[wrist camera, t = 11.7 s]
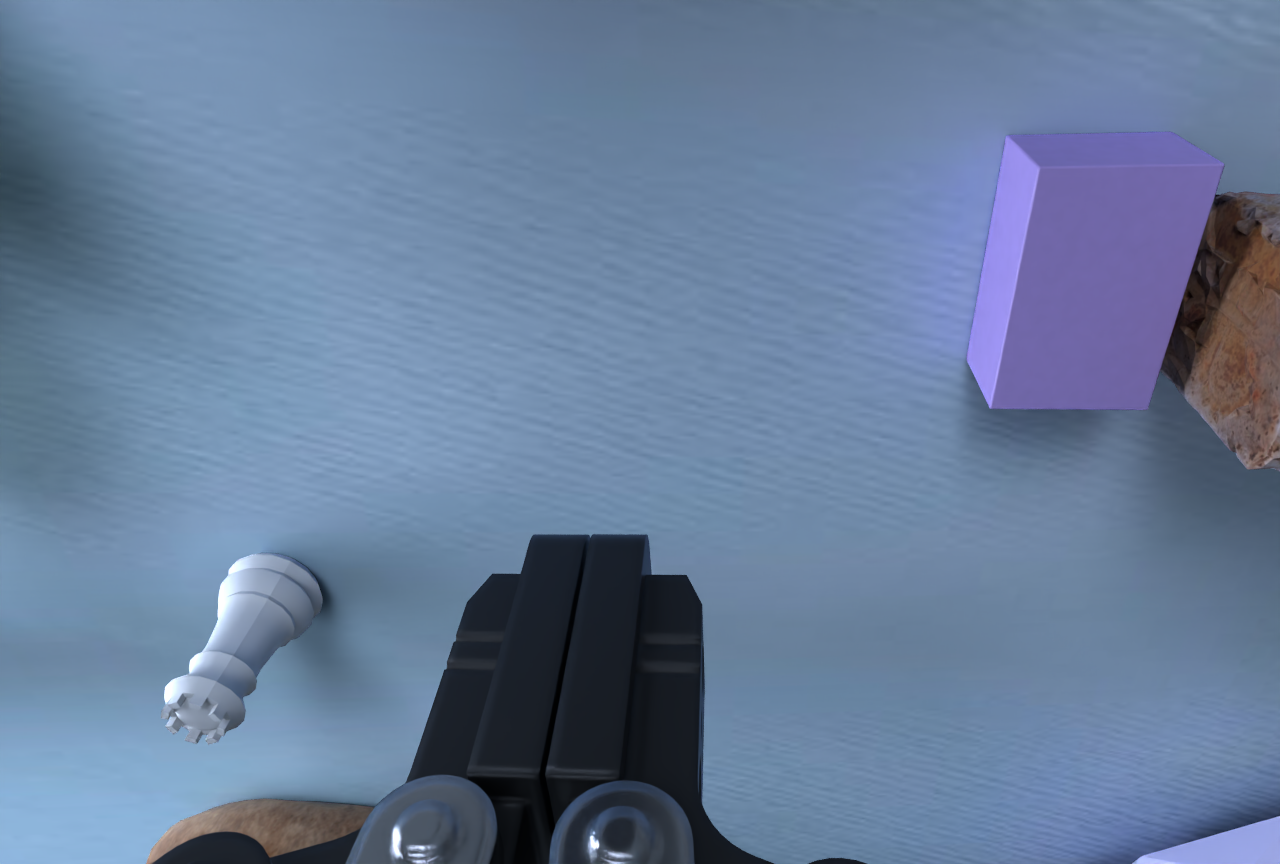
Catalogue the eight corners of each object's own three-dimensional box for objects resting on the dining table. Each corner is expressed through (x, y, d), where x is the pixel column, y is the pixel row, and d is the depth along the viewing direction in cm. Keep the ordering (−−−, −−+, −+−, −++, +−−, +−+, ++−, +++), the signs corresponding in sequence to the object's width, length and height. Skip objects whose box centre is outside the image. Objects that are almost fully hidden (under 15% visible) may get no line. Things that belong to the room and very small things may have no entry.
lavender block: (1005, 134, 28) (1038, 166, 25) (1173, 131, 27) (1226, 163, 24) (965, 359, 32) (989, 409, 29) (1109, 360, 32) (1148, 410, 29)
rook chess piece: (248, 531, 40) (150, 667, 33) (340, 575, 41) (264, 716, 34) (220, 591, 42) (123, 730, 35) (308, 631, 43) (231, 774, 36)
